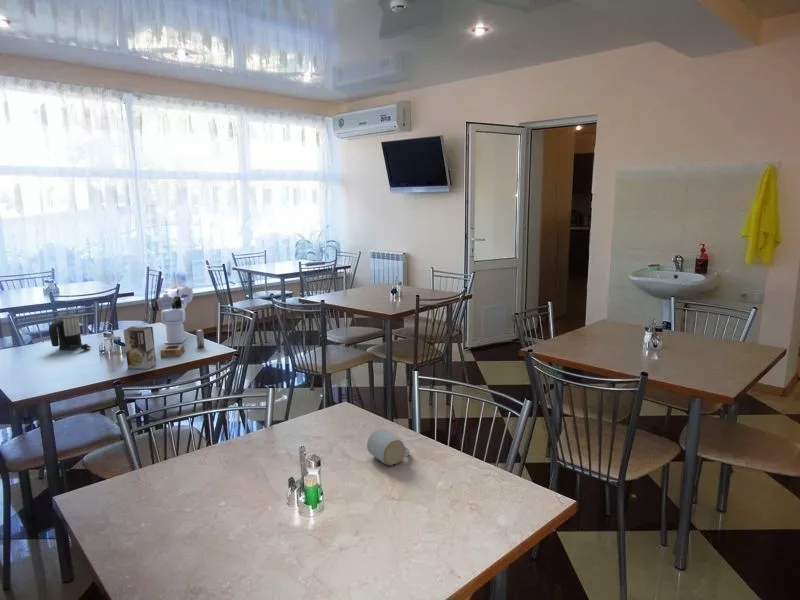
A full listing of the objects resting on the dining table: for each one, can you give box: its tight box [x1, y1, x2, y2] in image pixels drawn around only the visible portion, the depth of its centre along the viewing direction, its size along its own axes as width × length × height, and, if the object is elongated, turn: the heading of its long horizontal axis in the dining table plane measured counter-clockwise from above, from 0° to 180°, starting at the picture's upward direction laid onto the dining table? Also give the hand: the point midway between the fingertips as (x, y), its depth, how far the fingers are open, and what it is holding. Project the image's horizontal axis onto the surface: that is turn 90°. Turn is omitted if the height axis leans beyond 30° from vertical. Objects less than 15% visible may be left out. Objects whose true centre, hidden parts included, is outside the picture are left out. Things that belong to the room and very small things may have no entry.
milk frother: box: [48, 313, 92, 351], centre depth 240 cm, size 14×16×15 cm
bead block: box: [159, 344, 186, 358], centre depth 233 cm, size 8×8×3 cm
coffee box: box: [122, 325, 157, 370], centre depth 215 cm, size 9×6×16 cm
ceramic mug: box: [366, 427, 411, 466], centre depth 141 cm, size 11×8×8 cm
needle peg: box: [195, 329, 205, 349], centre depth 243 cm, size 3×3×8 cm
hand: (163, 307), depth 230 cm, fingers open, 7 cm apart
